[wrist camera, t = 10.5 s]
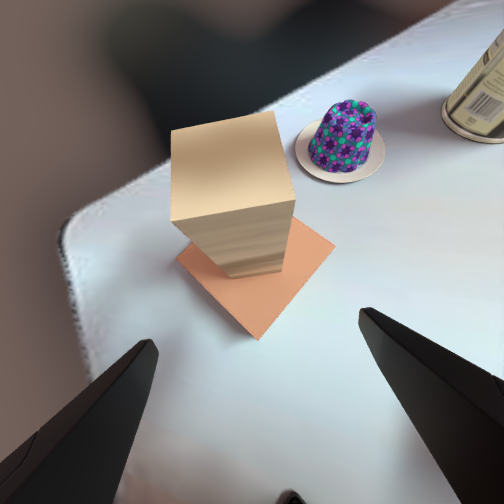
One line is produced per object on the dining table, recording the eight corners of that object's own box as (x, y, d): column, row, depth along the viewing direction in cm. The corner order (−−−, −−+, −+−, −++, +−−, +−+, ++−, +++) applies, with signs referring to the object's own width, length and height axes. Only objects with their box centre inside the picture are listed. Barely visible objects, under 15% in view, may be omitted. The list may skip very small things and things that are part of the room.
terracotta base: (260, 337, 20) (257, 340, 17) (187, 265, 24) (175, 258, 21) (327, 255, 22) (335, 246, 19) (252, 200, 26) (249, 185, 23)
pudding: (400, 145, 26) (429, 106, 22) (347, 202, 24) (366, 173, 20) (328, 109, 30) (339, 68, 25) (277, 156, 28) (278, 122, 23)
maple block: (281, 271, 19) (295, 199, 7) (232, 279, 19) (170, 221, 8) (272, 227, 21) (273, 110, 9) (227, 235, 21) (171, 131, 9)
